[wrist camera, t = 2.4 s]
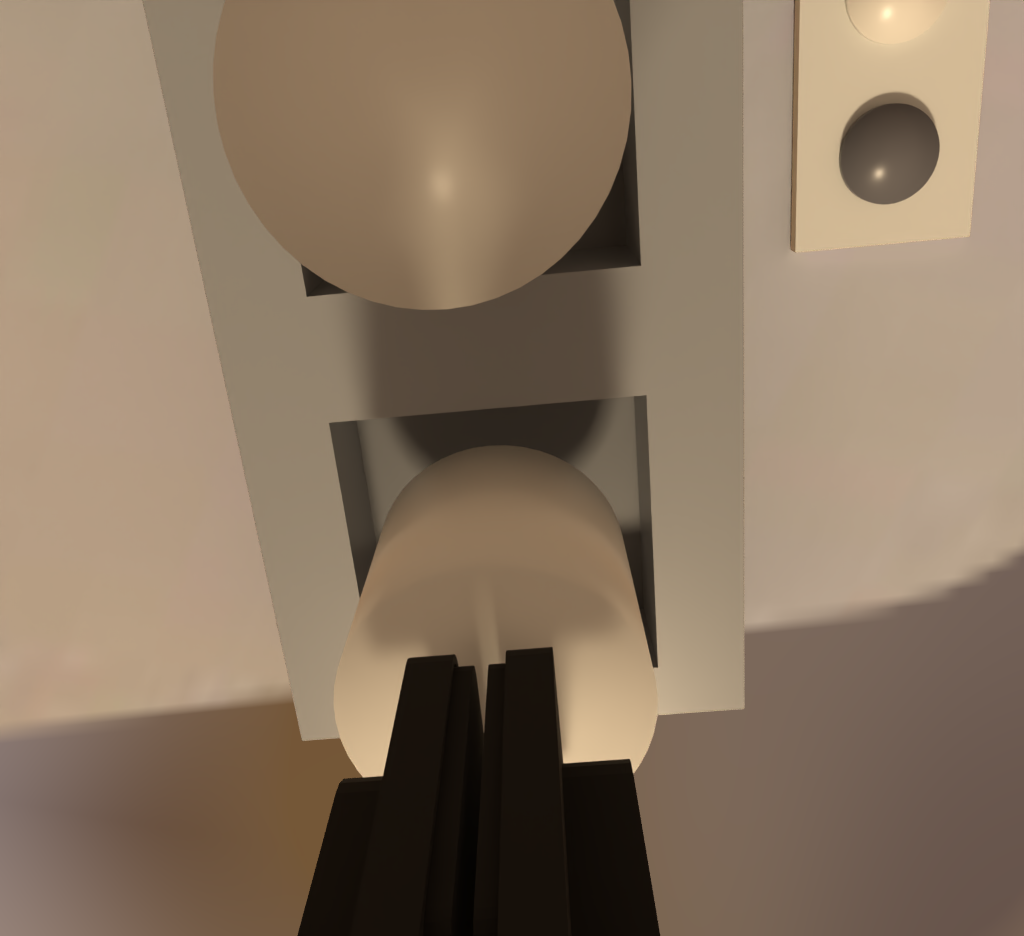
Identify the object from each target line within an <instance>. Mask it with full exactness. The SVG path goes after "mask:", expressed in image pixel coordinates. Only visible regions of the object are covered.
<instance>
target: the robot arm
mask: <svg viewBox="0 0 1024 936" xmlns="http://www.w3.org/2000/svg"><path fill="white" fill-rule="evenodd" d="M298 936H660V933H659V926H658V921H657V915H656V908H655V902H654V896H653V890H652V884H651V878H650V872H649V866H648V860H647V854H646V848H645V843H644V836H643V830H642V824H641V818H640V812H639V806H638V800H637V795H636V788H635V782H634V776H633V770H632V765H631V761H630V759H619V760H605V761H591V762H577V763H563V754H562V743H561V732H560V721H559V710H558V699H557V688H556V677H555V666H554V655H553V647H544V648H531V649H518V650H506V657H505V663H500V664H489V665H488V675H487V692H486V709H485V726H484V731H483V723H482V715H481V707H480V699H479V691H478V683H477V676H476V670H475V667H474V666H460V667H459V666H458V661H457V657H456V655H455V654H451V655H438V656H425V657H412V658H408V659H407V662H406V666H405V671H404V676H403V681H402V686H401V690H400V695H399V700H398V705H397V710H396V715H395V720H394V724H393V729H392V734H391V739H390V744H389V749H388V754H387V758H386V763H385V768H384V773H383V776H377V777H363V778H348V779H343V781H341V782H340V783H339V786H338V789H337V791H336V795H335V798H334V802H333V806H332V809H331V813H330V817H329V820H328V824H327V828H326V832H325V835H324V839H323V843H322V847H321V851H320V854H319V858H318V861H317V865H316V869H315V873H314V876H313V880H312V884H311V887H310V891H309V895H308V899H307V902H306V906H305V910H304V913H303V917H302V921H301V925H300V928H299V932H298Z"/></svg>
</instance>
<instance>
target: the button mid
mask: <svg viewBox="0 0 1024 936" xmlns="http://www.w3.org/2000/svg"><path fill="white" fill-rule="evenodd" d="M213 95H214V103H215V110H216V117H217V124H218V128H219V132H220V136H221V140H222V143H223V147H224V151H225V154H226V157H227V159H228V162H229V164H230V167H231V169H232V172H233V174H234V177H235V179H236V181H237V183H238V185H239V187H240V189H241V191H242V193H243V194H244V196H245V198H246V200H247V202H248V204H249V205H250V207H251V208H252V210H253V211H254V212H255V214H256V215H257V217H258V218H259V220H260V221H261V222H262V224H263V225H264V227H265V228H266V229H267V230H268V231H269V232H270V234H271V235H272V236H273V237H274V238H275V239H276V240H277V241H278V243H279V244H280V245H281V246H282V247H283V248H284V249H285V250H286V251H287V252H289V253H290V254H291V255H292V256H293V257H294V258H295V259H296V260H298V261H299V262H300V263H301V264H302V265H303V266H305V267H306V268H308V269H309V270H311V271H312V272H313V273H315V274H316V275H318V276H319V277H321V278H322V279H324V280H325V281H327V282H329V283H331V284H333V285H335V286H337V287H338V288H340V289H342V290H344V291H346V292H348V293H351V294H353V295H356V296H359V297H361V298H364V299H367V300H369V301H372V302H376V303H381V304H385V305H389V306H393V307H398V308H408V309H418V310H440V309H452V308H459V307H465V306H471V305H475V304H479V303H482V302H485V301H489V300H492V299H495V298H498V297H500V296H502V295H505V294H507V293H509V292H511V291H514V290H516V289H518V288H520V287H522V286H523V285H525V284H527V283H528V282H530V281H532V280H533V279H535V278H536V277H538V276H540V275H541V274H543V273H544V272H545V271H546V270H548V269H549V268H550V267H551V266H552V265H554V264H555V263H556V262H557V261H559V260H560V259H561V258H562V257H563V256H564V255H565V254H566V253H567V252H568V251H569V250H570V249H571V248H572V247H573V246H574V245H575V244H576V242H577V241H578V240H579V239H580V238H581V237H582V235H583V234H584V233H585V231H586V230H587V229H588V227H589V226H590V224H591V223H592V222H593V220H594V219H595V218H596V216H597V214H598V212H599V211H600V209H601V207H602V205H603V203H604V202H605V200H606V198H607V196H608V194H609V192H610V190H611V187H612V185H613V182H614V180H615V178H616V175H617V173H618V170H619V168H620V164H621V160H622V156H623V153H624V149H625V145H626V142H627V136H628V129H629V122H630V114H631V73H630V63H629V54H628V48H627V44H626V40H625V35H624V31H623V27H622V22H621V20H620V17H619V14H618V12H617V9H616V6H615V3H614V1H613V0H225V3H224V5H223V9H222V13H221V17H220V22H219V26H218V30H217V34H216V42H215V51H214V60H213Z"/></svg>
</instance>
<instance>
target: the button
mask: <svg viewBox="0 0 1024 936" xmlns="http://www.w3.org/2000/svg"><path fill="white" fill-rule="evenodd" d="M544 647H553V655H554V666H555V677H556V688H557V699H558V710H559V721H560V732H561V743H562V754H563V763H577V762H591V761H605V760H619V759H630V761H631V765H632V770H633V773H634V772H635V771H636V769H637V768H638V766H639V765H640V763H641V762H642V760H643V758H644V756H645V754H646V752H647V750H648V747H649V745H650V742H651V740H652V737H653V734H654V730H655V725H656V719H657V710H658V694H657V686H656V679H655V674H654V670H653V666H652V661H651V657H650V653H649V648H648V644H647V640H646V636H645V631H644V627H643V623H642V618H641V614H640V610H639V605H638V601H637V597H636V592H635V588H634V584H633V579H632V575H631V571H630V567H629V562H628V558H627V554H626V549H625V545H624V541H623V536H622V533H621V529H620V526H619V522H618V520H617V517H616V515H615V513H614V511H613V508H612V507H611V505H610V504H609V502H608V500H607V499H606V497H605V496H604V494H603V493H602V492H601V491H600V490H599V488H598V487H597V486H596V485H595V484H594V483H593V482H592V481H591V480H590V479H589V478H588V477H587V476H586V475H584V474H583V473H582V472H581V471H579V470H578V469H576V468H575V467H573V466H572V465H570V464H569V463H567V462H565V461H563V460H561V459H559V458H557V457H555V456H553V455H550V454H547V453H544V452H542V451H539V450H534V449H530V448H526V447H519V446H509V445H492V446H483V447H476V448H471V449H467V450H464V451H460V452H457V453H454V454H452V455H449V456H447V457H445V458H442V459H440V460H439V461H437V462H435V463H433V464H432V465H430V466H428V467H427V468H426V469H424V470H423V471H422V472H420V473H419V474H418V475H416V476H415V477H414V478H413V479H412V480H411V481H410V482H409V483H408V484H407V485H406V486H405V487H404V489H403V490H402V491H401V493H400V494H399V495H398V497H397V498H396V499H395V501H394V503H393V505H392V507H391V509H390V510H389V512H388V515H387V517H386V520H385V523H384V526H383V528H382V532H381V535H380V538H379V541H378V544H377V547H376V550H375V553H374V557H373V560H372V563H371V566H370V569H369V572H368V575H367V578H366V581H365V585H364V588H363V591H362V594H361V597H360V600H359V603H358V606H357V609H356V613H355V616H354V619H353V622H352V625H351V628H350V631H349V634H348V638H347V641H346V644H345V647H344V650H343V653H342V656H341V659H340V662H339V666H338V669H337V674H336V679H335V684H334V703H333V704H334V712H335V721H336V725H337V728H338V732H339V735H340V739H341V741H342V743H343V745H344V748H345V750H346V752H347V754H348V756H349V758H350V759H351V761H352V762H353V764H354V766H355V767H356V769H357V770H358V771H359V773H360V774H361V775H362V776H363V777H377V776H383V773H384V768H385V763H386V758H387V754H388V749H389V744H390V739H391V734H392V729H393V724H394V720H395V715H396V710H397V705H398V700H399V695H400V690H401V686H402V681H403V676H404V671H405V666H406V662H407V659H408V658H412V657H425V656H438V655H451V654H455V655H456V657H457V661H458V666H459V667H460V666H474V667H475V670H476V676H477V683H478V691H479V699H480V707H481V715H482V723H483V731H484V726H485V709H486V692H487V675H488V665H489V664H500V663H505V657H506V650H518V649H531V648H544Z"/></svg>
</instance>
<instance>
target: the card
mask: <svg viewBox="0 0 1024 936" xmlns="http://www.w3.org/2000/svg"><path fill="white" fill-rule="evenodd" d="M989 5H990V0H795V23H794V85H793V146H792V207H791V250H792V251H793V252H795V253H797V252H808V251H818V250H829V249H840V248H851V247H861V246H872V245H883V244H894V243H905V242H915V241H926V240H937V239H948V238H959V237H969V236H970V227H971V215H972V204H973V192H974V180H975V169H976V157H977V145H978V134H979V122H980V110H981V99H982V87H983V75H984V64H985V52H986V40H987V29H988V17H989Z"/></svg>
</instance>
